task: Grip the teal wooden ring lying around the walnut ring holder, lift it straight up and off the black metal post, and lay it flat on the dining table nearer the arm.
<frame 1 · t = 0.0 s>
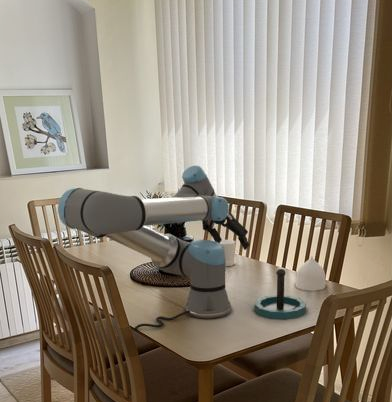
hand: (232, 244, 208), 15 cm above the table, tool tilted 35°, fingers open, 13 cm apart
ring holder: (280, 309, 184), on the table
ring: (280, 309, 184), on the table
teardrop: (310, 286, 207), on the table
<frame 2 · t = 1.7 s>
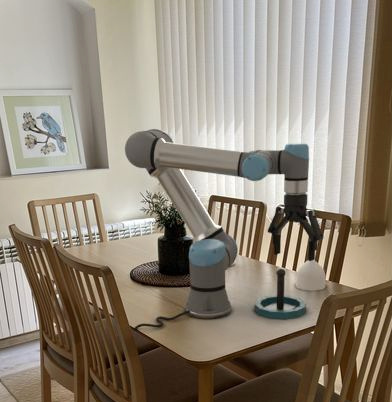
hand: (293, 257, 183), 17 cm above the table, tool pointing down, fingers open, 13 cm apart
nothing on the table moved.
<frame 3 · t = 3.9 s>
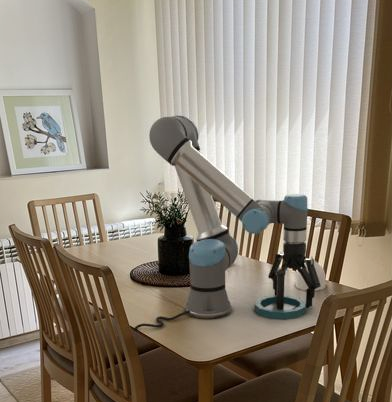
hand: (292, 302, 189), 1 cm above the table, tool pointing down, fingers closed on ring, 12 cm apart
ring: (280, 310, 184), on the table, touching gripper
everything else where it was.
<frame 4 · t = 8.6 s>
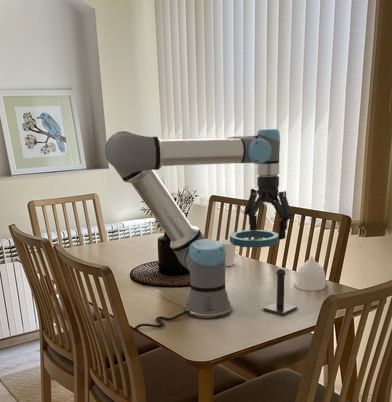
hand: (267, 236, 197), 20 cm above the table, tool pointing down, fingers closed on ring, 12 cm apart
ring: (254, 241, 192), point 20 cm above the table, touching gripper
everything else where it was.
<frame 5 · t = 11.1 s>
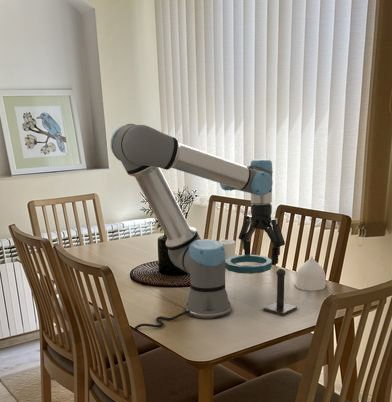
hand: (261, 261, 204), 10 cm above the table, tool pointing down, fingers closed on ring, 12 cm apart
ring: (248, 267, 199), point 10 cm above the table, touching gripper
everything else where it was.
when the fingers open (0 cm above the table, at t = 13.4 s): ring stays where it is, on the table.
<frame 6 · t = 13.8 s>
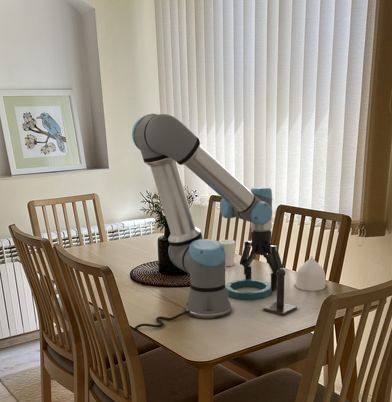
hand: (260, 286, 208), 0 cm above the table, tool pointing down, fingers open, 11 cm apart
ring: (248, 292, 202), on the table, touching gripper
everything else where it was.
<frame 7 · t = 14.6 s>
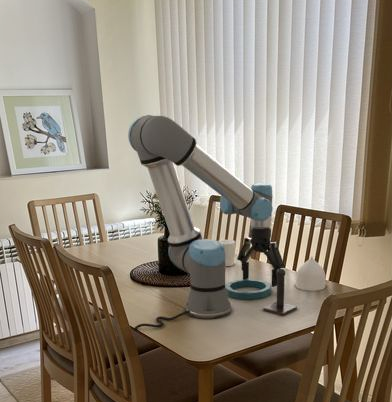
hand: (259, 282, 207), 2 cm above the table, tool pointing down, fingers open, 13 cm apart
nothing on the table moved.
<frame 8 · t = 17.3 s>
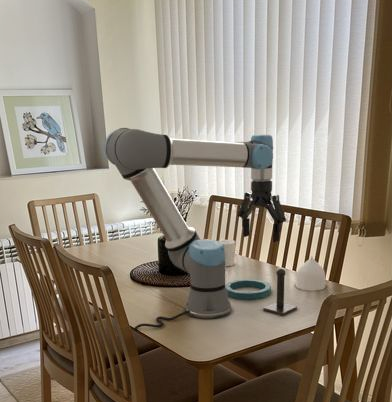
hand: (260, 238, 201), 19 cm above the table, tool pointing down, fingers open, 13 cm apart
ring: (247, 292, 202), on the table
everything else where it was.
at the end: ring inside the target area (0.3 cm from its centre), on the table; ring tilted 0°; the gripper is holding nothing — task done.
